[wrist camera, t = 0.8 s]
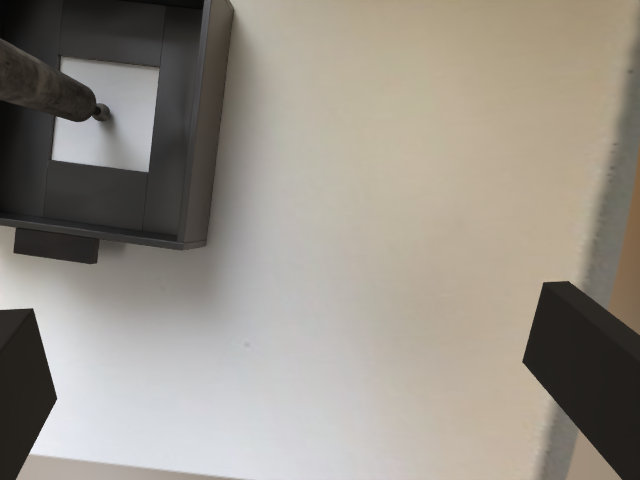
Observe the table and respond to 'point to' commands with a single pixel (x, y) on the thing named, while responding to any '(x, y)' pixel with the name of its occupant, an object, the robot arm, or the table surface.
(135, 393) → the table surface
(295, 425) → the table surface
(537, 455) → the table surface
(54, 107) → the microphone
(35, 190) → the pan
